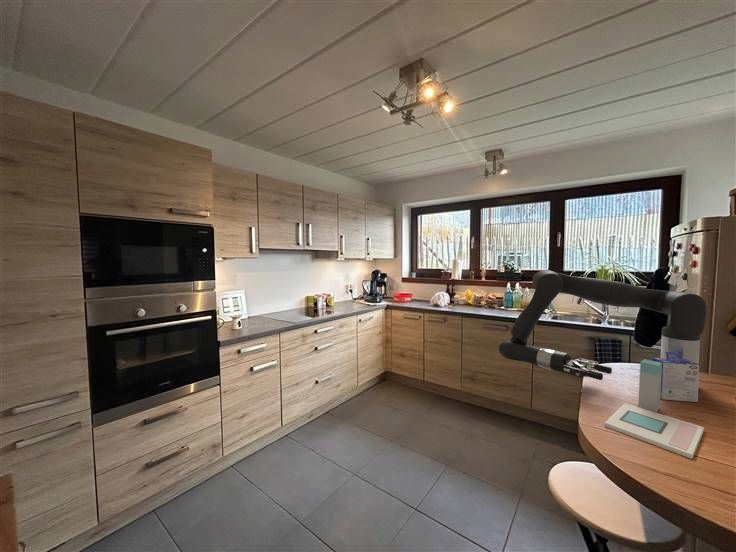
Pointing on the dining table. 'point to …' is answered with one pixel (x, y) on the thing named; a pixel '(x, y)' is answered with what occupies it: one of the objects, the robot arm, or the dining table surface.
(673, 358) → the ink cartridge box
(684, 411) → the dining table surface
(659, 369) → the teal-capped square post
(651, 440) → the picture board
